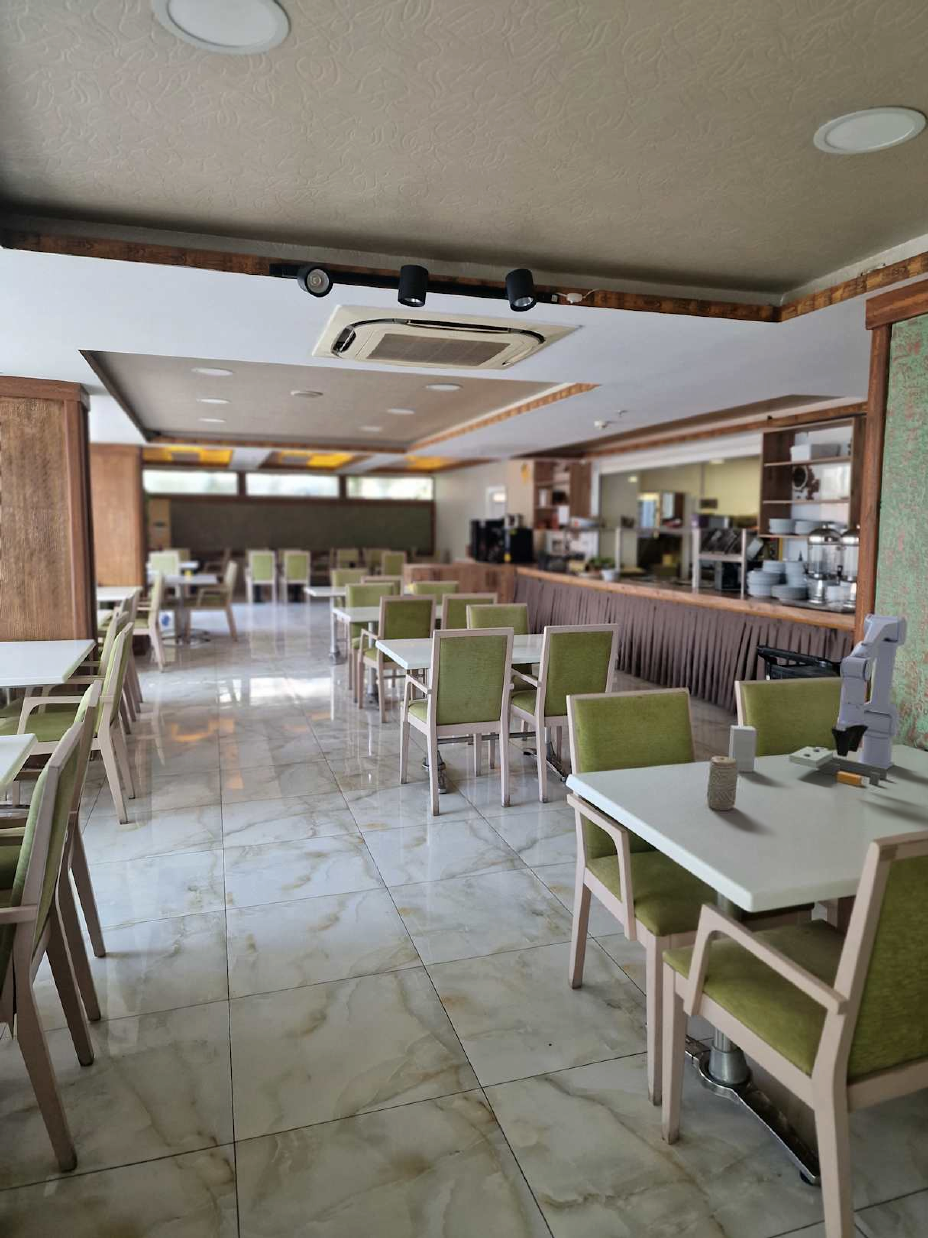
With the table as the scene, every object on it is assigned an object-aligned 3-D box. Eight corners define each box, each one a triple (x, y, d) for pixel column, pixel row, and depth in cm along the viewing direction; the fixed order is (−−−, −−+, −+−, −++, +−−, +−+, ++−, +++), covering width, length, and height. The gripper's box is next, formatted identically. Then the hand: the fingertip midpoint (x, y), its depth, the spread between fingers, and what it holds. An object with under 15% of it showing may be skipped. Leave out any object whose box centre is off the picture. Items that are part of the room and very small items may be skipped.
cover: (833, 769, 216) (835, 749, 215) (814, 780, 205) (816, 759, 205) (808, 763, 221) (810, 743, 220) (787, 774, 210) (789, 753, 209)
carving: (701, 807, 182) (704, 758, 180) (714, 800, 188) (717, 752, 186) (727, 815, 178) (731, 764, 176) (739, 807, 183) (743, 758, 182)
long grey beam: (828, 766, 220) (829, 755, 219) (886, 779, 210) (887, 768, 209) (818, 771, 214) (819, 761, 214) (877, 785, 204) (878, 774, 203)
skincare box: (749, 768, 215) (752, 726, 214) (753, 772, 211) (757, 730, 209) (727, 766, 216) (730, 724, 214) (730, 771, 211) (734, 728, 210)
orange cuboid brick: (839, 779, 208) (840, 771, 208) (861, 785, 204) (862, 776, 204) (836, 781, 206) (837, 773, 206) (857, 787, 203) (858, 778, 202)
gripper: (859, 709, 192) (853, 761, 194) (878, 702, 202) (872, 752, 204) (830, 703, 197) (824, 755, 198) (849, 697, 207) (844, 746, 209)
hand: (847, 753), depth 202 cm, fingers open, 7 cm apart
